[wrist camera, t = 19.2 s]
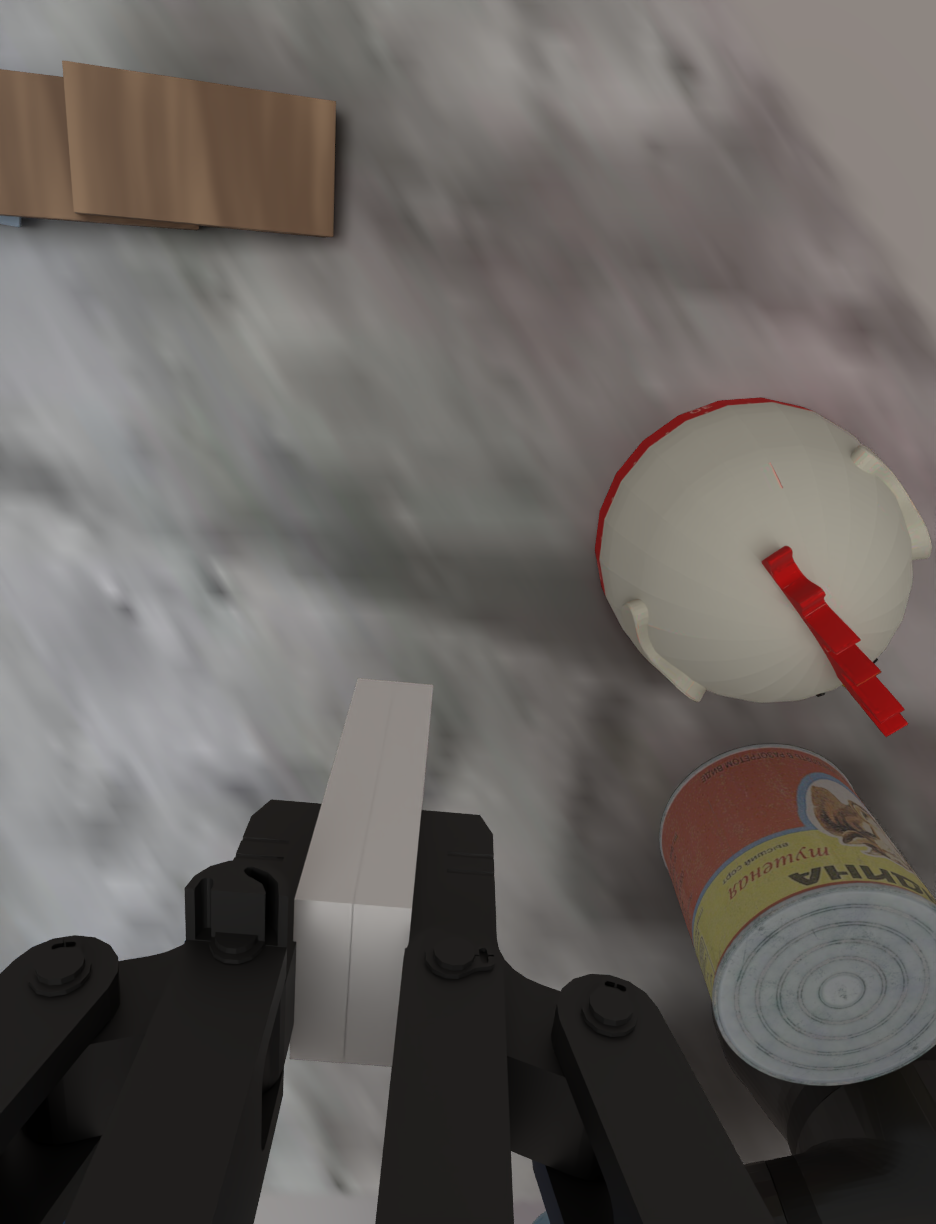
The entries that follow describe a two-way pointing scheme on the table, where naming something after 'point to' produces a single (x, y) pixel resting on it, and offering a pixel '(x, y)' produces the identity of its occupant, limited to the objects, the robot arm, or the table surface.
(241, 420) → the table surface
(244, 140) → the domino
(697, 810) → the canned food
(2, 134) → the domino
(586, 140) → the table surface
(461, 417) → the table surface
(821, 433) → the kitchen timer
